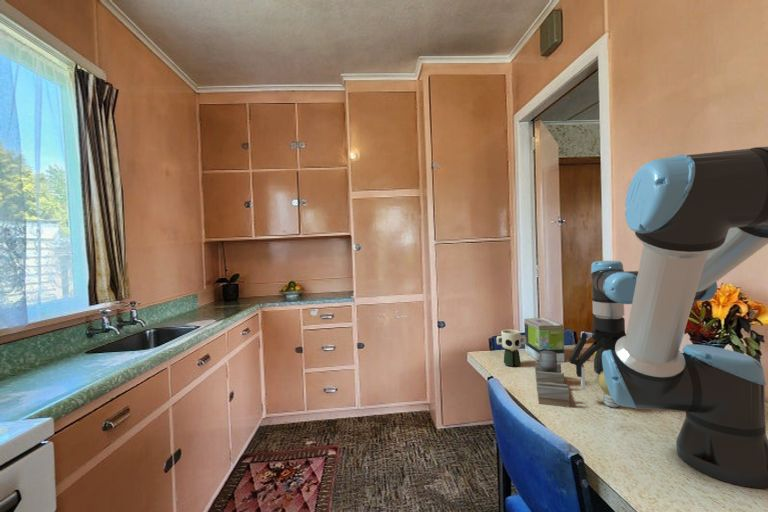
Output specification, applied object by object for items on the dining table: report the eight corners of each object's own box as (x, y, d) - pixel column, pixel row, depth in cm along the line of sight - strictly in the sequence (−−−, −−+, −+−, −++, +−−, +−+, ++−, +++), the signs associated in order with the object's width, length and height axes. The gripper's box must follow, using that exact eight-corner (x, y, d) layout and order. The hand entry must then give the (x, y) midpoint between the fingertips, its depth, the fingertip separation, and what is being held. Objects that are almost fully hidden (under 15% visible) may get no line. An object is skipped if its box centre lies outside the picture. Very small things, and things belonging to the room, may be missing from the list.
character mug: (499, 368, 132) (498, 334, 132) (495, 361, 139) (494, 329, 139) (529, 367, 131) (528, 333, 130) (524, 361, 138) (522, 328, 137)
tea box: (565, 362, 135) (564, 324, 134) (539, 363, 135) (538, 325, 135) (548, 350, 150) (546, 316, 150) (524, 351, 150) (523, 317, 150)
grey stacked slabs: (569, 407, 98) (568, 372, 98) (538, 403, 101) (537, 369, 101) (560, 376, 120) (559, 348, 120) (535, 374, 123) (534, 346, 123)
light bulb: (601, 398, 102) (600, 365, 102) (627, 404, 98) (626, 369, 98) (595, 406, 98) (594, 371, 98) (622, 413, 93) (621, 376, 93)
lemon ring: (623, 363, 131) (623, 357, 130) (580, 360, 136) (580, 355, 136) (614, 352, 144) (613, 347, 144) (575, 350, 149) (575, 345, 149)
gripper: (657, 314, 96) (659, 389, 97) (557, 312, 105) (560, 380, 106) (668, 320, 89) (670, 401, 90) (560, 317, 98) (562, 391, 99)
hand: (610, 390), depth 98 cm, fingers open, 13 cm apart
